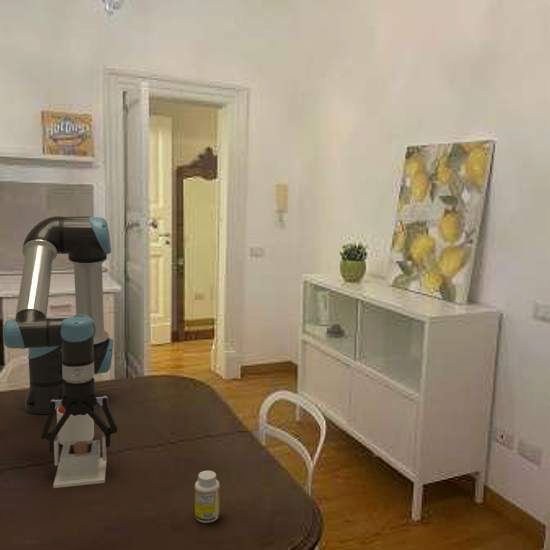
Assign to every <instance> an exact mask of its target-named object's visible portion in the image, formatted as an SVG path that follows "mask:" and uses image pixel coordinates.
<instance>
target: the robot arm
mask: <svg viewBox="0 0 550 550" xmlns="http://www.w3.org/2000/svg"><path fill="white" fill-rule="evenodd" d="M107 222H108V221H107V219H105V218H103V217H101V216H100V217H98V216H51V217H48V218H47V217H46V219H44V220H42V221H40V222H39V223H37V224H36V225H35V226H34V227H33V228H31V229H30V231H29V232H28V233H27V235H26V236H25V239H24V241H23V244H22V245H23V246H22V254H23V255H22V256H24V261H23V268H22V274H21V280H20V287H19V291H18V299H17V306H16V311H15V318H13V319H7V320H5V322H4V325H3V330H2V331H3V333H2V337H3V338H2V339H3V343H4V345H5V347H6V348H8V349H17V350H18V349H22V350H25V349H28V355H27V358H28V370H29V371H28V373H29V374H28V376H29V387H28V391H27V394H26V397H25V401H24V410H25V411H26V412H27V413H30V414H33V415H48V416H47V418H46V421H45V424H44V427H43V430H42V433H41V435H40V436H41V439H42V440H48V441H49V443H48V445H49V452H50V453H53V454H54V455H53V456H54V466H55V467H56V466H57V467H58V465H59V462H60V443H59V440H58V433H59V431H60V429H61V428H62V426H63V425H64V423H65V422H66V420H67V419H68V418H69V416H70V415H73V416H76V415H86V414H88V415H89V416H90V417H91V418H92V419H93V420H94V424H96V425H97V426H98V428H99V429H100V431H101V432H102V436H101V437H102V439H101V440H102V443H101V444H102V447H101V448H102V458H103V461H106V458H107V448H111V447H110V446H111V435H113V434H117V432H118V424H117V422H116V420H115V418H114V414H113V413H112V410H111V408H110V405H109V402H108V401H109V400H108V399H109V398H108V395H106V394H104V395H103V396H97V395H96V394H95V393H96V391H95V389H96V388H95V385H96V384H95V378H94V377H95V375H98V374H105V373H106V374H107V373H109V372H110V370H111V367H112V360H113V349H114V339H113V338H111V337H109V332H107V331H106V330H105V322H104V321H105V320H104V319H105V318H104V317H105V316H104V290H103V289H104V285H103V263H104V262H105V261H107V259H108V255H110V254H111V253H112V245H111V237H110V231H109V225H108V223H107ZM60 254H61V255H68V256H67V257H68V261H69V262H70V263H72V265H73V272H74V273H73V274H74V276H73V277H74V294H75V295H74V297H75V299H74V300H75V315H73V316H70V317H54V318H51V317H50V318H47V315H48V307H49V306H48V305H49V297H50V287H51V280H52V279H51V277H52V271H53V261H54V260H55V259H56V258H57V256H58V255H60ZM96 403H98V404H99V406H101V407H102V410H103V412H104V413H103V414H104V416H105V418H106V419H107V422H108V424H107V423H106V421H104V419H103V418H102V417H101V415H100V414H99V413H98V412H97V410H96V408H95V405H96ZM60 406H63V407H64V408H65V409H66V411H65V412H64V414H63V416H62V417H61V419H60V420H59V422H58V423H57V422H56V424H55V426H54V428H53V430H51V432H49V430H50V428H51V425H52V421H53V419H54V416H55V414H57V409H58V408H59V407H60ZM108 425H109V426H108ZM106 462H107V461H106Z"/></svg>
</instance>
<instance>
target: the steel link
mask: <svg viewBox="0 0 550 550" xmlns="http://www.w3.org/2000/svg"><path fill="white" fill-rule="evenodd" d="M77 442H81V441H76V442H64V444H63V445H62V448H61V451H60V454H59V462H60V481H68V480H78V479H88V478H98V477H99V468H100V458H101V439H92V440H88V441H83V442H87V453H80V454H74V444H75V443H77Z"/></svg>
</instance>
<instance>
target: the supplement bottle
mask: <svg viewBox="0 0 550 550" xmlns="http://www.w3.org/2000/svg"><path fill="white" fill-rule="evenodd" d="M220 492H221V491H220V482H219V480H218V479H217V473H216V472H214V470H204V471H201V472H199V473H198V477H197V481H196V482H195V483H194V517H195V519H196V521H198V522H200V523H203V524H204V523H205V524H206V523H212V522H214V521H216V520H218V519H219V517H220V500H221V499H220Z"/></svg>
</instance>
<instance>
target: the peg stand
mask: <svg viewBox="0 0 550 550" xmlns="http://www.w3.org/2000/svg"><path fill="white" fill-rule="evenodd" d="M80 453H87V442H83V441H81V442H77V443H75V444H74V454H80ZM106 472H107V457H106V461H103V457H100V468H99V477H98V478H88V479H78V480H68V481H60V461H59V463H58V465H57V470H56V473H55V478H54V481H53V489H57V488H67V487H68V488H69V487H76V486H77V487H78V486H79V487H80V486H85V485H87V486H88V485H95V484H105V482H106Z"/></svg>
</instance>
